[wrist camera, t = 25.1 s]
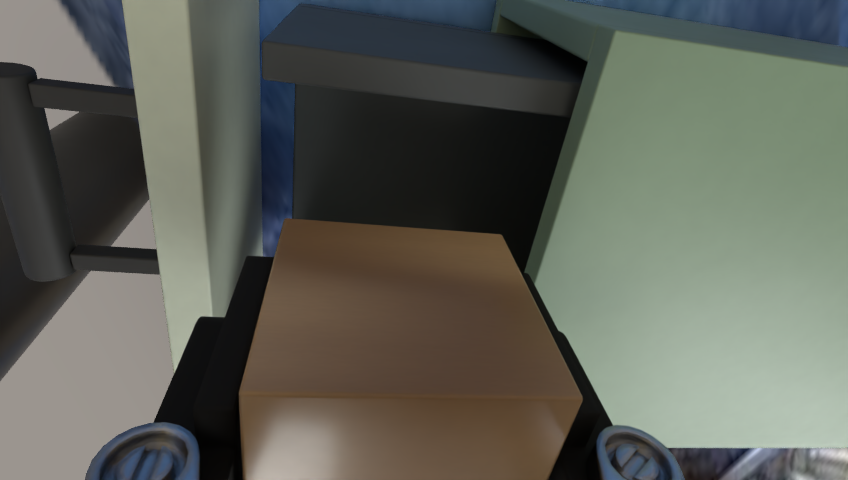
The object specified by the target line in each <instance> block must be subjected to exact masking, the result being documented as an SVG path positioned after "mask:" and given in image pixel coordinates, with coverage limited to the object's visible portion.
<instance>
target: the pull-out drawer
mask: <svg viewBox="0 0 848 480" xmlns="http://www.w3.org/2000/svg"><path fill="white" fill-rule="evenodd" d="M122 5H123V12H124V19H125V26H126V33H127V41H128V48H129V55H130V62H131V69H132V77H133V84H134V89H129V88H121V87H112V86H103V85H94V84H86V83H77V82H68V81H60V80H51V79H43V78H40V79H37V75H36V72H35V70H34V69H33V68H32V67H30V66H26V65H22V64H17V63H4V62H0V195H1V198H2V201H3V204H4V208H5V211H6V214H7V218H8V221H9V224H10V228H11V231H12V234H13V237H14V241H15V244H16V247H17V251H18V254H19V257H20V260H21V264H22V267H23V270H24V274H25V275H26V276H27V277H28V278H30V279H32V280H35V281H53V280H58V279H62V278H65V277H67V276H69V275H71V274H73V273H74V272H76V271H77V270H90V271H91V270H92V271H107V272H125V273H143V274H160V277H161V285H162V292H163V299H164V307H165V313H166V320H167V328H168V335H169V343H170V350H171V357H172V364H173V371H174V373H175V371H176V368H177V366H178V364H179V361H180V359H181V357H182V354H183V352H184V350H185V347H186V345H187V342H188V340H189V338H190V335H191V333H192V331H193V328H194V326H195V324H196V322H197V320H198V318H200V317H201V316H208V317H225V315H226V313H227V310H228V307H229V304H230V301H231V298H232V296H233V293H234V290H235V287H236V284H237V281H238V279H239V276H240V273H241V270H242V267H243V264H244V261H245V259H246V257H247V256H262V257H263V244H262V173H261V101H260V29H259V0H122ZM587 64H588V62H587V61H585V60H583V59H581V58H579V57H577V56H575V55H573V54H572V53H570V52H568V51H566V50H564V49H562V48H560V47H558V46H556V45H555V44H553V43H551V42H549V41H547V40H542V39H535V38H528V37H522V36H515V35H508V34H502V33H495V32H489V31H482V30H475V29H469V28H462V27H455V26H449V25H442V24H435V23H429V22H422V21H415V20H409V19H402V18H395V17H389V16H382V15H376V14H369V13H362V12H356V11H349V10H342V9H336V8H329V7H322V6H316V5H309V4H302V3H301V4H299V5H298V6H297V7H296V8H295V9H294V10H293V11H292V12H291V13H290V14H289V15H288V16H287V17H286V18H285V19H284V20H283V21H282V22H281V23H280V24H279V25H278V26H277V27H276V28H275V29H274V30H273V31H272V32H271V33H270V34H269V35H268V36H267V37H266V38H265V39H264V40H263V42H262V77H263V79H265V80H270V81H278V82H286V83H294V84H295V107H294V157H293V206H292V219H304V220H317V221H330V222H343V223H357V224H370V225H383V226H396V227H410V228H423V229H436V230H450V231H463V232H476V233H489V234H500V235H502V236H503V238H504V240H505V242H506V244H507V246H508V248H509V250H510V252H511V254H512V256H513V258H514V260H515V262H516V264H517V266H518V268H519V270H520V272H521V273H524V272H525V268H526V265H527V262H528V258H529V255H530V252H531V248H532V245H533V242H534V239H535V235H536V232H537V229H538V225H539V222H540V219H541V215H542V212H543V209H544V206H545V202H546V199H547V196H548V192H549V189H550V186H551V183H552V179H553V176H554V173H555V169H556V166H557V163H558V159H559V156H560V153H561V150H562V146H563V143H564V140H565V136H566V133H567V130H568V126H569V123H570V120H571V117H572V113H573V110H574V107H575V103H576V100H577V97H578V93H579V90H580V87H581V84H582V80H583V77H584V74H585V70H586V67H587ZM44 108H51V109H60V110H69V111H79V112H88V113H98V114H107V115H116V116H126V117H135V118H138V120H139V127H140V134H141V141H142V148H143V156H144V163H145V170H146V177H147V184H148V192H149V199H150V206H151V212H152V220H153V227H154V235H155V242H156V249H141V248H127V247H111V246H96V245H78V246H77V247H76V242H75V238H74V234H73V230H72V225H71V221H70V217H69V212H68V208H67V204H66V199H65V195H64V191H63V187H62V182H61V178H60V174H59V169H58V165H57V161H56V156H55V152H54V148H53V144H52V139H51V135H50V131H49V126H48V122H47V118H46V114H45V109H44Z"/></svg>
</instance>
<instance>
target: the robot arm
mask: <svg viewBox="0 0 848 480" xmlns="http://www.w3.org/2000/svg"><path fill="white" fill-rule="evenodd" d="M273 260H274V257H262V256H247V257H246V259H245V261H244V264H243V267H242V270H241V273H240V276H239V279H238V281H237V284H236V287H235V290H234V293H233V296H232V298H231V301H230V304H229V307H228V310H227V313H226V315H225V317H208V316H201V317H200V318H198V320H197V322H196V324H195V326H194V328H193V331H192V333H191V335H190V338H189V340H188V342H187V345H186V347H185V350H184V352H183V354H182V357H181V359H180V361H179V364H178V366H177V368H176V371H175V373H174V376H173V378H172V381H171V383H170V385H169V387H168V390H167V392H166V395H165V397H164V399H163V402H162V404H161V406H160V409H159V411H158V414H157V416H156V418H155V420H154V423H148V424H145V425H141V426H137V427H134V428H131V429H129V430H127V431H125V432H123V433H121V434H119V435H118V436H116V437H115V438H113V439H112V440H111V441H110V442H108V443H107V444H106V445H104V446H103V447H102V449H101V450H100V451H99V452H98V453H97V455H96V456H95V457H94V458H93V460H92V462H91V464H90V466H89V469H88V471H87V473H86V477H85V480H243V473H242V453H241V433H240V413H239V390H240V386H241V382H242V378H243V374H244V371H245V367H246V363H247V359H248V355H249V352H250V348H251V344H252V340H253V336H254V332H255V329H256V325H257V321H258V317H259V313H260V310H261V306H262V302H263V298H264V294H265V291H266V287H267V283H268V279H269V275H270V271H271V268H272V264H273ZM521 274H522V276H523V278H524V280H525V282H526V284H527V286H528V288H529V290H530V292H531V294H532V296H533V298H534V300H535V302H536V304H537V306H538V308H539V310H540V312H541V314H542V316H543V318H544V320H545V322H546V324H547V326H548V329H549V331H550V333H551V335H552V337H553V339H554V341H555V343H556V345H557V347H558V349H559V351H560V353H561V355H562V357H563V359H564V361H565V363H566V365H567V367H568V369H569V371H570V373H571V375H572V377H573V379H574V381H575V383H576V385H577V387H578V389H579V391H580V393H581V395H582V398H583V401H582V403H581V406H580V408H579V410H578V412H577V415H576V417H575V419H574V422H573V424H572V426H571V428H570V431H569V433H568V435H567V438H566V440H565V442H564V444H563V447H562V449H561V451H560V454H559V456H558V458H557V460H556V463H555V465H554V467H553V470H552V472H551V474H550V476H549V479H548V480H685V479H684V477H683V474H682V472H681V469H680V467H679V465H678V463H677V461H676V459H675V457H674V456H673V455H672V453H671V452H670V451H669V450H668V449H667V448H666V447H665V445H663V444H662V443H661V442H660V441H658V440H657V439H656V438H655V437H653V436H652V435H650V434H648V433H646V432H644V431H642V430H640V429H637V428H634V427H631V426H626V425H614V426H613V424H612V422H611V420H610V418H609V416H608V415H607V413H606V411H605V409H604V407H603V405H602V403H601V401H600V400H599V398H598V396H597V394H596V392H595V390H594V388H593V386H592V384H591V383H590V381H589V379H588V377H587V375H586V373H585V371H584V369H583V367H582V366H581V364H580V362H579V360H578V358H577V356H576V354H575V352H574V350H573V349H572V347H571V345H570V343H569V341H568V339H567V338H566V336H565V335H564V333H562V332H560V331H558V329H557V327H556V325H555V323H554V321H553V319H552V317H551V315H550V314H549V312H548V310H547V308H546V306H545V304H544V302H543V300H542V298H541V296H540V294H539V292H538V290H537V288H536V287H535V285H534V283H533V281H532V279H531V277H530V275H529V274H528V273H521Z"/></svg>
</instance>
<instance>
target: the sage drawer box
mask: <svg viewBox="0 0 848 480" xmlns="http://www.w3.org/2000/svg"><path fill="white" fill-rule="evenodd" d="M490 32H495V33H502V34H508V35H515V36H522V37H528V38H535V39H542V40H547V41H549V42H551V43H553V44H555V45H556V46H558V47H560V48H562V49H564V50H566V51H568V52H570V53H572V54H573V55H575V56H577V57H579V58H581V59H583V60H585V61H587V62H588V64H587V67H586V70H585V74H584V77H583V80H582V84H581V87H580V90H579V93H578V97H577V100H576V103H575V107H574V110H573V113H572V117H571V120H570V123H569V126H568V130H567V133H566V136H565V140H564V143H563V146H562V150H561V153H560V156H559V159H558V163H557V166H556V169H555V173H554V176H553V179H552V183H551V186H550V189H549V192H548V196H547V199H546V202H545V206H544V209H543V212H542V215H541V219H540V222H539V225H538V229H537V232H536V235H535V239H534V242H533V245H532V248H531V252H530V255H529V258H528V262H527V265H526V268H525V272H524V273H528V274H529V275H530V277H531V279H532V281H533V283H534V285H535V287H536V288H537V290H538V292H539V294H540V296H541V298H542V300H543V302H544V304H545V306H546V308H547V310H548V312H549V314H550V315H551V317H552V319H553V321H554V323H555V325H556V327H557V329H558V331H560V332H562V333H564V335H565V336H566V338H567V339H568V341H569V343H570V345H571V347H572V349H573V350H574V352H575V354H576V356H577V358H578V360H579V362H580V364H581V366H582V367H583V369H584V371H585V373H586V375H587V377H588V379H589V381H590V383H591V384H592V386H593V388H594V390H595V392H596V394H597V396H598V398H599V400H600V401H601V403H602V405H603V407H604V409H605V411H606V413H607V415H608V416H609V418H610V420H611V422H612V424H613V426H614V425H626V426H631V427H634V428H637V429H640V430H642V431H644V432H646V433H648V434H650V435H652V436H653V437H655V438H656V439H657V440H658V441H660V442H661V443H662V444H663V445H665V447H666V448H848V47H843V46H838V45H832V44H826V43H820V42H814V41H808V40H802V39H796V38H790V37H784V36H778V35H772V34H766V33H760V32H754V31H748V30H742V29H736V28H730V27H724V26H718V25H712V24H706V23H700V22H694V21H688V20H682V19H676V18H670V17H664V16H658V15H652V14H646V13H640V12H634V11H628V10H622V9H616V8H610V7H604V6H598V5H592V4H586V3H580V2H574V1H567V0H497V2H496V6H495V11H494V16H493V21H492V26H491V31H490Z"/></svg>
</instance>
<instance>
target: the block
mask: <svg viewBox="0 0 848 480" xmlns="http://www.w3.org/2000/svg"><path fill="white" fill-rule="evenodd" d="M582 401H583V398H582V395H581V393H580V391H579V389H578V387H577V385H576V383H575V381H574V379H573V377H572V375H571V373H570V371H569V369H568V367H567V365H566V363H565V361H564V359H563V357H562V355H561V353H560V351H559V349H558V347H557V345H556V343H555V341H554V339H553V337H552V335H551V333H550V331H549V329H548V326H547V324H546V322H545V320H544V318H543V316H542V314H541V312H540V310H539V308H538V306H537V304H536V302H535V300H534V298H533V296H532V294H531V292H530V290H529V288H528V286H527V284H526V282H525V280H524V278H523V276H522V274H521V272H520V270H519V268H518V266H517V264H516V262H515V260H514V258H513V256H512V254H511V252H510V250H509V248H508V246H507V244H506V242H505V240H504V238H503V236H502V235H500V234H489V233H476V232H463V231H450V230H436V229H423V228H410V227H396V226H383V225H370V224H357V223H343V222H330V221H317V220H304V219H290V218H286V219H284V222H283V226H282V230H281V233H280V237H279V241H278V245H277V249H276V252H275V256H274V260H273V264H272V268H271V271H270V275H269V279H268V283H267V287H266V291H265V294H264V298H263V302H262V306H261V310H260V313H259V317H258V321H257V325H256V329H255V332H254V336H253V340H252V344H251V348H250V352H249V355H248V359H247V363H246V367H245V371H244V374H243V378H242V382H241V386H240V390H239V413H240V433H241V453H242V473H243V480H548V479H549V476H550V474H551V472H552V470H553V467H554V465H555V463H556V460H557V458H558V456H559V454H560V451H561V449H562V447H563V444H564V442H565V440H566V438H567V435H568V433H569V431H570V428H571V426H572V424H573V422H574V419H575V417H576V415H577V412H578V410H579V408H580V406H581V403H582Z"/></svg>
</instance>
